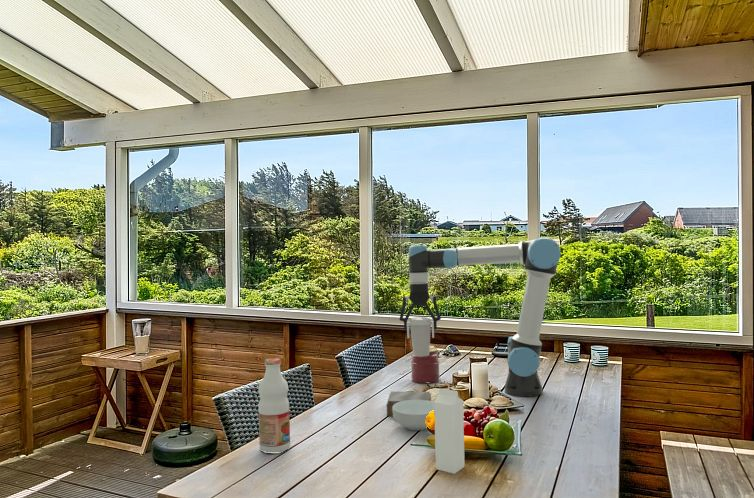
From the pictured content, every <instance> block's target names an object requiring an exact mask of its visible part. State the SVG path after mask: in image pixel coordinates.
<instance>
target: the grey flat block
mask: <svg viewBox="0 0 754 498" xmlns="http://www.w3.org/2000/svg"><path fill="white" fill-rule="evenodd" d="M406 400H427V401H432V393H430V391H390V393H389V395H388V399H387V402H386V415H387V417H388V416H389V417H390V416H392V417H394V416H393V411H392V407H393V405H394V404H396V403H398V402H401V401H406Z"/></svg>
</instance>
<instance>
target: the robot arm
mask: <svg viewBox="0 0 754 498" xmlns="http://www.w3.org/2000/svg"><path fill="white" fill-rule="evenodd" d="M560 258H561V248H560V246H559V245H558V243H557V242H556V241H555V240H554V239H552V238H550V237H543V236H541V237H537V238H535V239H531V240H524V241H522V240H521V241H520V242H519V243H516V244H513V243H512V244H501V245H500V244H499V245H486V246H483V245H482V246H470V247H468V246H467V247H457V248H456V247H455V248H454V247H453V248H448V247H447V248H443V249H428V246H427V245H425V244H419V245H417V244H416V245H410V246H409V248H408V268H409V271H408V272H409V273H408V274H409V283H410V284H409V296H405V295H404V296H403V297H402V306H401V311H400V315H399V321H400V322H403V329H404V331H406V339H410V324H409V321H408V320H409V317H410V315H411V314H412V311H413V310H414V308H415V307H425V308H426V311H427V312H428V314H429V316H430V317H431V322H432V324H431V335H432V336H431V338H432V339H434V338H435V330H437V323H438V321H440V320H441V319H442V318H441V313H440V311H439V307H438V304H437V296H436V295H430V294H429V283H428V282H429V271H428V270H429V269H451V268H456V267H457V266H473V265H474V266H476V265H491V264H492V265H493V264H497V265H498V264H511V263H515V264H516V263H520V264H521V265H524V271H525V272H526V273H527V275H526V282H525V286H524V292H523V298H522V303H521V308H520V314H519V318H518V325H517V329H516V334H514V335H513V336H508V339H507V352H508V353H507V361H506V362H507V365H508V373H507V378H506V380H505V384H504V391H505V393H506V394H509V395H511V396H517V397H534V396H537V397H538V396H540V395H542V394H543V385H542V383H541V380H540V376H539V373H538V372H539V371H538V370H539V367H540V364H541V363H540V361H541V360H540V356H541V352H542V347H543V343H542V341H541V340H540V335H541V329H542V324H543V319H544V314H545V310H546V302H547V298H548V292H549V287H550V282H551V278H553V277H554V276H556V272H557V267H558V263H559V260H560ZM409 300H410V301H411V305H410V307H409V309H408V311H407V314H406V316H405V317H404V314H405V311H406V307H407V305H406V304H407V302H409ZM429 300H431V302H432V303H433V306H434V310H435V315H436V316H435V315H434V313H433V311H432V309H431V307H430V305H429V304H428V302H429Z"/></svg>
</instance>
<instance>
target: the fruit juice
mask: <svg viewBox="0 0 754 498" xmlns="http://www.w3.org/2000/svg"><path fill="white" fill-rule="evenodd" d="M281 362H282V361H281V358H276V357H275V358H273V357H272V358H265V360H264V366H265V372H264V376H263V378H262V379H261V381H260V383H259V384H258V394H259V402H258V426H259V427H258V431H259V432H258V433H259V435H258V436H259V437H258V438H259V450H260V449H261V450H263V451H266V452H282V451H285V450H287V449H288V448H289V447H290V448H291V426H290V425H291V424H290V422H291V421H290V404H289V403H290V401H289V399H288V391H289V385H288V382H287V380H286V379H285V378H284V377H283V375H282V371H281ZM290 448H289V449H290ZM289 449H288V450H289ZM261 450H260V451H261ZM288 450H287V451H288ZM285 452H286V451H285ZM282 453H283V452H282Z"/></svg>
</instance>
